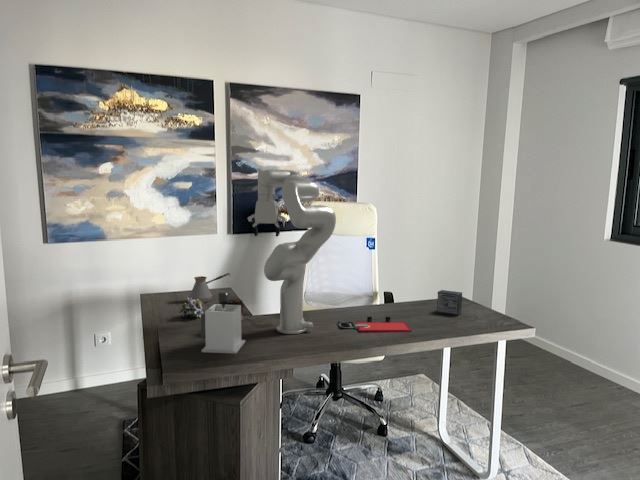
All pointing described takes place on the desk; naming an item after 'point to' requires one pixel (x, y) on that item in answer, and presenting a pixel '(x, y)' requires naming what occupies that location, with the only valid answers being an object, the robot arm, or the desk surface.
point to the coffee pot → (202, 288)
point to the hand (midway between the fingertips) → (266, 236)
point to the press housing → (222, 329)
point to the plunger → (223, 299)
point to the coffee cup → (237, 302)
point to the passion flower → (193, 307)
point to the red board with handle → (377, 326)
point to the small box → (449, 302)
